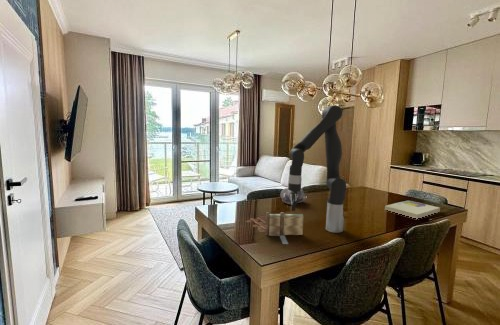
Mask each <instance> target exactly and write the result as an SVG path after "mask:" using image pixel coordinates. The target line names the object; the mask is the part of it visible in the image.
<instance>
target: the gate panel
mask: <svg viewBox="0 0 500 325" xmlns="http://www.w3.org/2000/svg"><path fill="white" fill-rule="evenodd" d="M303 230H304V213H284V236H300V235H301V236H303Z"/></svg>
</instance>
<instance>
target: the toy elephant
mask: <svg viewBox="0 0 500 325" xmlns="http://www.w3.org/2000/svg"><path fill="white" fill-rule="evenodd" d="M290 193H291V191H290V190H288V187H285V188H283V189H282V190H281V191H280V194H279V196H280V198H281V199H282V202H284V203H285V204H287V205H291V202H290V201H291V200H290ZM297 194H298V197H297V198H298V202H297V204H299V203H302V202H304V201H306V199H307V197H308V196H307V195H306V196H305V192H304V190H303V188H302V187H301V191H298V192H297Z"/></svg>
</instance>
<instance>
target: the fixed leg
mask: <svg viewBox="0 0 500 325" xmlns="http://www.w3.org/2000/svg"><path fill="white" fill-rule="evenodd" d="M284 214H285V212H283V211H281V212H280V213H270V212H269V211H268V212H265V218H266V220H265V221H266V225H265V227H266V231H265V232H264V233H265V236H269V235H284ZM284 236H285V235H284Z"/></svg>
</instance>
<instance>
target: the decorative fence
mask: <svg viewBox="0 0 500 325" xmlns="http://www.w3.org/2000/svg"><path fill="white" fill-rule="evenodd" d="M261 222H262V223H261ZM245 223H255V224H253V225H252V227H253V228H256V227H258V228H259V227H260V228H262V229H259V232H260V233H265V232H266V217H261V216H257V218H254V217H252V218H251V217H250V219H248V220H245Z"/></svg>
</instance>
